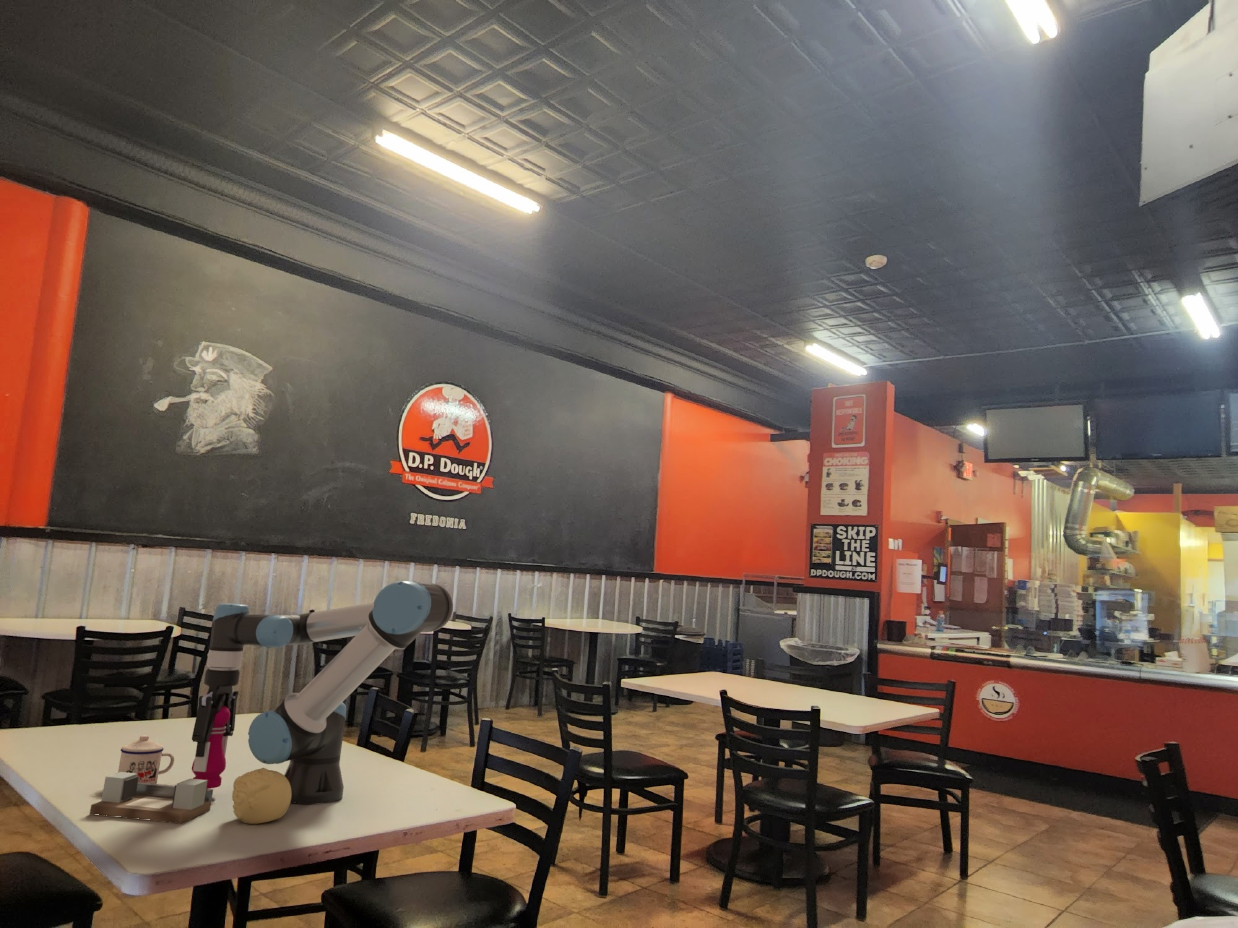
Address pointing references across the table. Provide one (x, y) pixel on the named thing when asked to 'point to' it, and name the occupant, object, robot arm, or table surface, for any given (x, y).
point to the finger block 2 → (189, 794)
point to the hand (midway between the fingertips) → (208, 767)
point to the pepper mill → (215, 751)
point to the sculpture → (261, 796)
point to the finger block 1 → (120, 787)
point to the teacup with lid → (143, 759)
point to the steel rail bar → (163, 791)
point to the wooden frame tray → (148, 809)
